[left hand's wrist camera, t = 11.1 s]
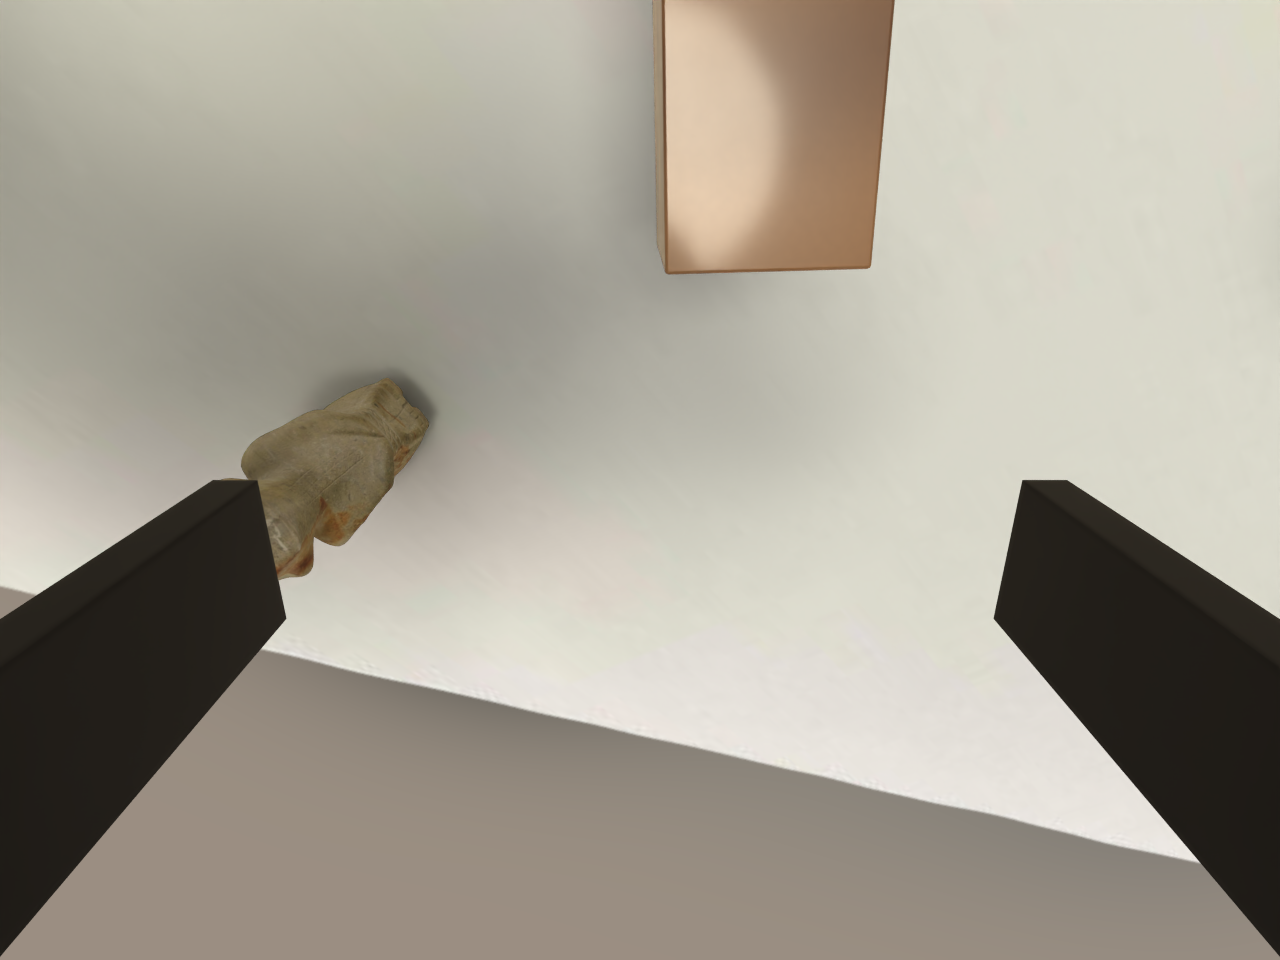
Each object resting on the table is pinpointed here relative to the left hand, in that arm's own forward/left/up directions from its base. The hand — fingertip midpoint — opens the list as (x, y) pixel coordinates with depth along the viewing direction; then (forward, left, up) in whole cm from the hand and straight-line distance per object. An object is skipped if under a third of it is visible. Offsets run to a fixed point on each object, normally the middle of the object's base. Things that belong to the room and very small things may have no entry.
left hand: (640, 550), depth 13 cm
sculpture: (-13, -10, -27) cm, 32 cm away
